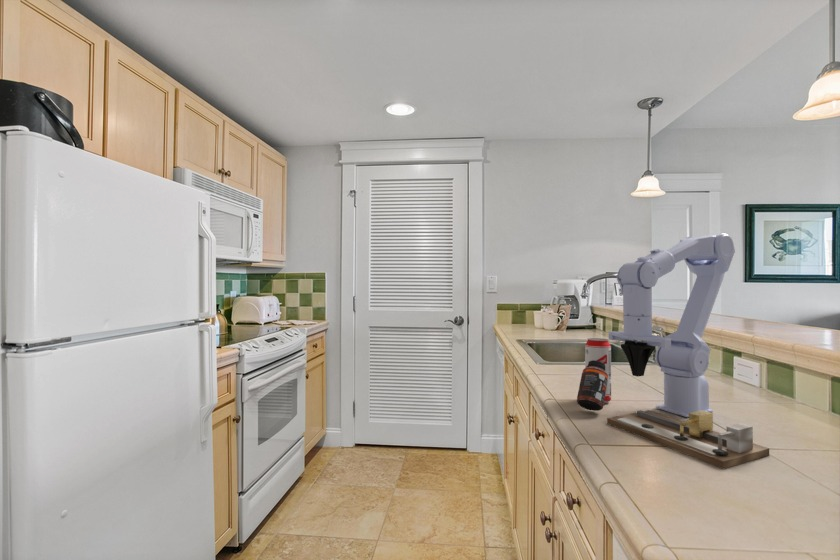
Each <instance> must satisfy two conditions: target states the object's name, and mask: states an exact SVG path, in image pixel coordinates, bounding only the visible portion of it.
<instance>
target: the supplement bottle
mask: <svg viewBox="0 0 840 560" xmlns="http://www.w3.org/2000/svg"><path fill="white" fill-rule="evenodd" d="M607 382H608V375H607V373H606V372H605V364H604V363H602V362H600V361H596V360H592V361H589V363H588V366H587V368H583V370H582V372H581V377H580V381H579V385H578V386H579V387H578V392H577V395H576V396H577V397H576V403H577V404H578V406H580V407H581V408H582V409H586V410H587V411H593V412H596V411H597V412H598V411H601V410H603V408H604V405H605V404H604V399H605V394H606V388H607Z"/></svg>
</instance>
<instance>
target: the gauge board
mask: <svg viewBox="0 0 840 560" xmlns="http://www.w3.org/2000/svg"><path fill="white" fill-rule="evenodd" d="M682 421H683V420H680V419H677V418H674V417H671V416H668V415H665V414H661V413H658V412H655V411H652V410H648V409H647V410H641V409H640V410H637V411H636V412H632V413H626V414H621V415H616V416H611V417H606V424H608V425H610V426H613V427H615V428H618V429H621V430H623V431H626V432H627V433H631V434H633V435H636V436H639V437H641V438H643V439H646V440H648V441H651V442H654V443H656V444H658V445H662V446H664V447H666V448H669V449H672V450H675V451H677V452H680V453H682V454H685V455H687V456H690V457H692V458H695V459H698V460H700V461H703V462H705V463H708V464H710V465H713V466H716V467H719V468H721V469H723V470H724V469H727V468H731V467H733V466H737V465H741V464H743V463H747V462H749V461H750V462H751V461H754V460H758V459H760V458H761V459H762V458H764V457H768V456H770V448H769V447H766V446H763V445H760V444H757V443H754V442H753V440H754V439H753V438H754V435H753V434H754V432H753V431H754V430H753V429H754V428H753V425H749V424H745V423H741V422H739V423H735V424H730V425H726V430H725V432H719V431H716V430H713V433H710V432H707V431H703V437H701V438H699V437H696V436H693V435H690V434H689V425H686V426H684V437H681V436H680V422H682Z"/></svg>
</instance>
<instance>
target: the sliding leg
mask: <svg viewBox="0 0 840 560" xmlns="http://www.w3.org/2000/svg"><path fill="white" fill-rule="evenodd" d="M713 415H714V413H713V412H706V411H703V410H701V411H696V412H692V413H689V417H688V419H687V420H681V421H682V422H680V436H681V437H684V426H686V425H689V434H690V435H693V436H696V437H699V438H701V437H703V431H707V432H710V433H713V431H714V430H713V429H714V416H713Z"/></svg>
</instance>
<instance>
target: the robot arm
mask: <svg viewBox="0 0 840 560" xmlns="http://www.w3.org/2000/svg"><path fill="white" fill-rule="evenodd" d="M735 253H736V248H735V245H734V242H733V239H732V237H731V236H730V235H729V234H728V233H725V232H724V233H719V234H711V235H701V236H700V235H699V236H688V237H685V238H682V239H680V240H679V242H678V243H676V244H675V245H673V246H672V247H670V248H669V249H667V250H664V249H660V248H655V249H651V250H650V253H649V254H647V255H645V256H640V257H638V258H637V259H636V261H633V262H626V263H624V264H622V265H621V267H619V269H618V272H617V274H616V282H617V283H618V285H619V287H620V293H621V295H622V302H623V303H622V309H623V310H622V311H623V317H622V319H623V320H622V321H623V323H622V324H623V326H622V327H623V331H617V330H615V331H614V330H612V331H611V330H610V331H608V340H609V341H618V342H619V341H620V342H624V343H621V344H620V348H621V350H622V351H623V353H624V355H625V356H626V359H627V362H628V364H629V367H630V371H631V375H632V376H634V377H637V378H638V377H644V376H645V371H646V369H647V366H648V361H649V360H650V357H651V356H652V354H653V352H654V351H655V353H654V357H655V358H654V360H655V362H656V364H657V366H658V367H659V368H660V372H662V373H663V404H659V405H655V408H656V409H658V410H661V411H665V412H668V413H670V414H674V415H675V414H676V415H678V416H681V417H685V418H689V413H692V412H696V411H701V410H703V411H706V412H710V413H713V412H714V410H713V409H711V408H710V396H709V395H710V390H709V389H710V388H709V387H710V386H709V385H710V384H709V382H708V380H707V378H706V377H705V376H704V374H705V372H706V371H707V370H708V367H709V366H710V358H709V357H710V352H711V348H710V347H709V345H708V344H707V342H705V340H704V339H703V335H704V333H705V330H706V327H707V324H708V321H709V319H710V316H711V314H712V311H713V308H714V306H715V303H716V299H717V297H718V294H719V291H720V288H721V286H722V284H723V282H724V277H725V273H727V272H728V271H729V268H730V266H731V263H732V261H733V258H734V256H735ZM681 261H684V263H685V264H686V266H687V268H688V269H689V271H690V273H693V274H694V275H696V278H695V281H694V283H693V287H692V289H691V291H690V295H689V297H688V299H687V303H686V304H685V308H684V310H683V312H682V316H681V319H680V320H679V324H678V326H677V328H676V330H675V331H674V332H672V333H670V334H668V335H667V334H666V335H665V336H658V335H654V334H653V316H652V315H653V310H652V309H653V308H652V307H653V306H652V288H653V287H655V286H656V285H657V284H658V280H659V278H662V277H663V276H665V275H667V274H668V273H670V272H672V271H673V270H674V269H675V267H676V264H677V263H680V262H681ZM656 347H657V349H656Z"/></svg>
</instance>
